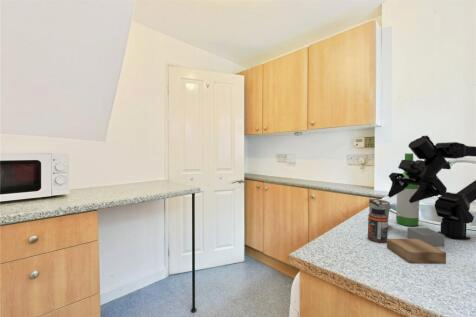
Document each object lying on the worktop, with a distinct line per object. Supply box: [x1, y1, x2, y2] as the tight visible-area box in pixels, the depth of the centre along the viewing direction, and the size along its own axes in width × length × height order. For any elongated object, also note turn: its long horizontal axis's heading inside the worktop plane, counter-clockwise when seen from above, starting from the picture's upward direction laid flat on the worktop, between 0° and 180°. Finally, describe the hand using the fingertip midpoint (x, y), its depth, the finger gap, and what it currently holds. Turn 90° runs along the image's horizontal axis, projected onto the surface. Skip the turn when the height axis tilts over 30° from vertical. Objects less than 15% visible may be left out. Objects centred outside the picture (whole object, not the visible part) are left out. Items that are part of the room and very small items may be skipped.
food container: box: [368, 198, 392, 218], centre depth 98 cm, size 12×6×10 cm, turn 168°
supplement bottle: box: [367, 207, 389, 243], centre depth 82 cm, size 6×6×11 cm
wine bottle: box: [395, 152, 420, 227], centre depth 99 cm, size 8×8×30 cm
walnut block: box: [386, 238, 447, 264], centre depth 70 cm, size 10×10×3 cm
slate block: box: [407, 227, 446, 248], centre depth 80 cm, size 7×7×4 cm
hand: (398, 199), depth 83 cm, fingers open, 9 cm apart
